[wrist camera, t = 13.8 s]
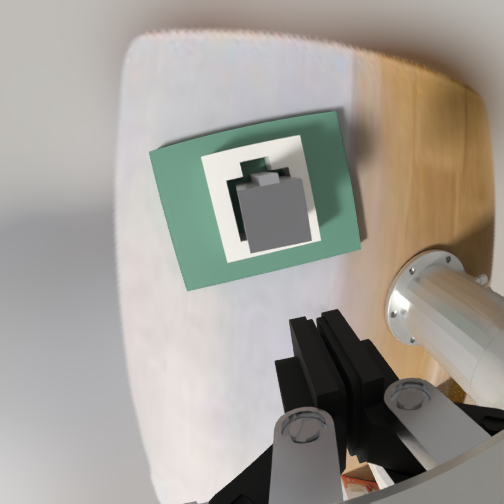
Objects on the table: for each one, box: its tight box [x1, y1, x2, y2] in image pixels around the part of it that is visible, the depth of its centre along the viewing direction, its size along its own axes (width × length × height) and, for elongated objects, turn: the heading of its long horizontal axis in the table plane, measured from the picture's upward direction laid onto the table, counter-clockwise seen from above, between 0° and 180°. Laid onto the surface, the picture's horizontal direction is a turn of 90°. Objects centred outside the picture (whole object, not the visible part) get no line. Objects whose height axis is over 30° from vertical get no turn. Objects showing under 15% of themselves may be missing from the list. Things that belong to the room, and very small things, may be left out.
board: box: [149, 111, 361, 291], centre depth 30 cm, size 18×14×2 cm
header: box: [201, 135, 321, 263], centre depth 27 cm, size 8×9×4 cm
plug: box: [235, 172, 312, 253], centre depth 24 cm, size 4×5×10 cm
